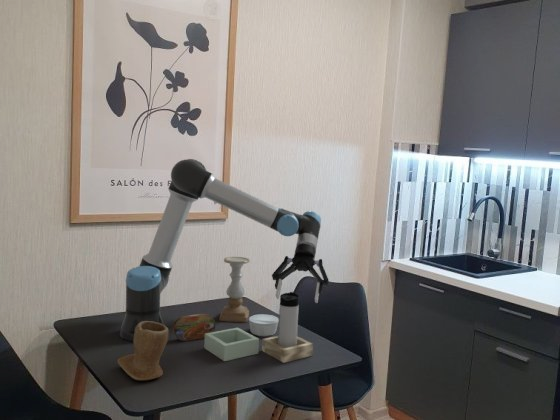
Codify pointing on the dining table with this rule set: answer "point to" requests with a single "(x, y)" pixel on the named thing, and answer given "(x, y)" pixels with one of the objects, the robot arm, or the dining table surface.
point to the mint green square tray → (231, 344)
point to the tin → (193, 326)
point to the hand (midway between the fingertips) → (296, 298)
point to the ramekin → (263, 324)
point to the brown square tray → (287, 349)
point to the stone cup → (146, 351)
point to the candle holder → (235, 293)
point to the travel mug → (288, 320)
